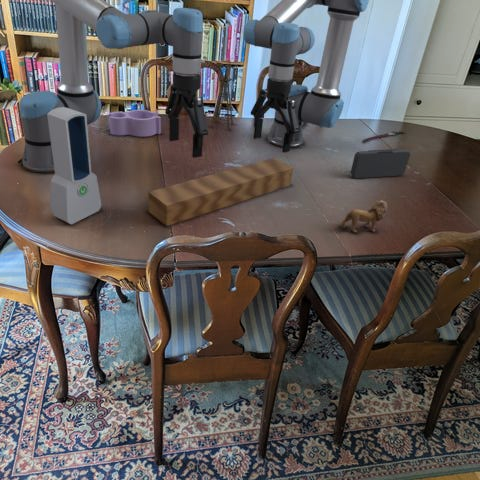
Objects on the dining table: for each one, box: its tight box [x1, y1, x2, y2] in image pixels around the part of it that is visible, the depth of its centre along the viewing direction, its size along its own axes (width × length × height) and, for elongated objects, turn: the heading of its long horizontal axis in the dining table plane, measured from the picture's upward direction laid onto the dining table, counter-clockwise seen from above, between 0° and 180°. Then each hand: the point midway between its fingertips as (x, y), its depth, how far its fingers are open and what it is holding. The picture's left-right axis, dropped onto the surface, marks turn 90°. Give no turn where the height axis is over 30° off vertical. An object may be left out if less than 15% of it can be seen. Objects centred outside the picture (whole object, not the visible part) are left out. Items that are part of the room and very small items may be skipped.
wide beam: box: [147, 157, 294, 227], centre depth 149 cm, size 51×10×7 cm, turn 131°
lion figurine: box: [339, 199, 388, 234], centre depth 139 cm, size 15×5×9 cm, turn 110°
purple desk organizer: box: [108, 109, 162, 138], centre depth 190 cm, size 20×12×7 cm, turn 109°
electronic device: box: [47, 107, 102, 225], centre depth 126 cm, size 12×8×30 cm, turn 148°
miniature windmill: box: [210, 54, 234, 130], centre depth 200 cm, size 9×8×30 cm
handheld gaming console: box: [350, 148, 411, 179], centre depth 174 cm, size 23×3×10 cm, turn 108°
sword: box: [363, 130, 404, 143], centre depth 215 cm, size 31×3×1 cm, turn 126°
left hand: (185, 148), depth 136 cm, fingers open, 13 cm apart
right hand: (271, 144), depth 154 cm, fingers open, 13 cm apart
